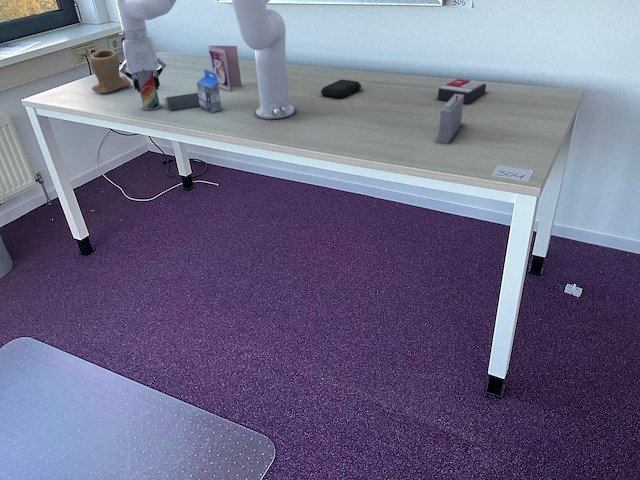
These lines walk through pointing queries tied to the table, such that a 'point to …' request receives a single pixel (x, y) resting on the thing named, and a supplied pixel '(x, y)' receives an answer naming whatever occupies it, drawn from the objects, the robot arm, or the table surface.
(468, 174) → the table surface
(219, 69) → the greeting card
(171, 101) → the mat
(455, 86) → the grey and red box
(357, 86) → the carrying case
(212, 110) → the label tape box
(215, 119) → the table surface
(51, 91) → the table surface
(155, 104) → the lotion bottle
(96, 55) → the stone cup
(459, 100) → the cassette player
